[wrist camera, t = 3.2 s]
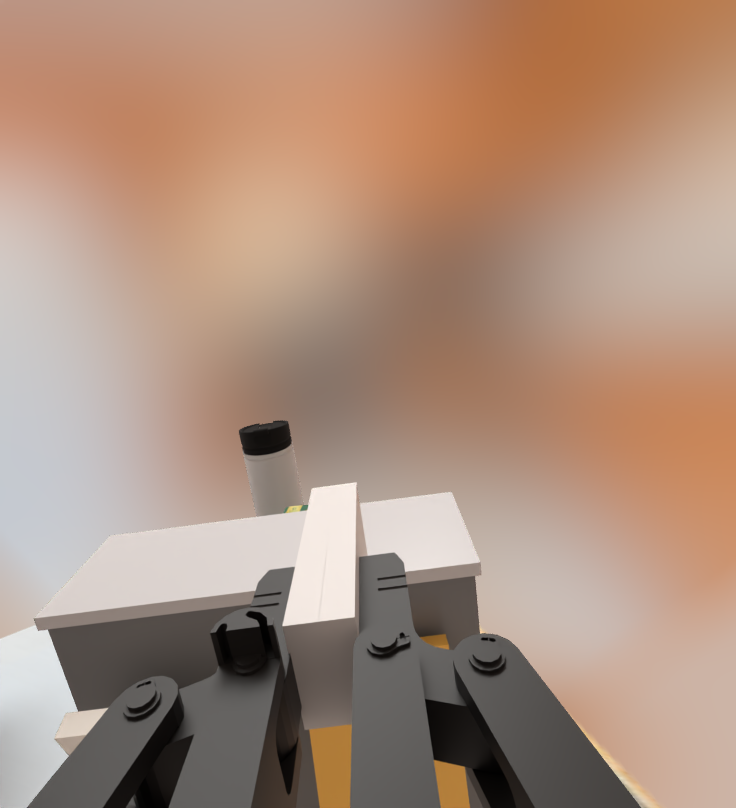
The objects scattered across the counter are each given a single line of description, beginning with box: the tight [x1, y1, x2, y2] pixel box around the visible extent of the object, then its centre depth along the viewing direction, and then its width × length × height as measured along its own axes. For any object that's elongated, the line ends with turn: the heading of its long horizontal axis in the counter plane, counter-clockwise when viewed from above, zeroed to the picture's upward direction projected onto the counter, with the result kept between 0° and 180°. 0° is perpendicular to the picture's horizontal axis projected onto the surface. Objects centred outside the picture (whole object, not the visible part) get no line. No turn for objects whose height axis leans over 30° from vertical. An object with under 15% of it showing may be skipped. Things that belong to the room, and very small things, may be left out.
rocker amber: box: [309, 634, 470, 808], centre depth 27 cm, size 2×8×10 cm, turn 91°
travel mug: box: [239, 421, 304, 517], centre depth 64 cm, size 6×7×20 cm
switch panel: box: [34, 492, 483, 808], centre depth 34 cm, size 9×25×21 cm, turn 91°
